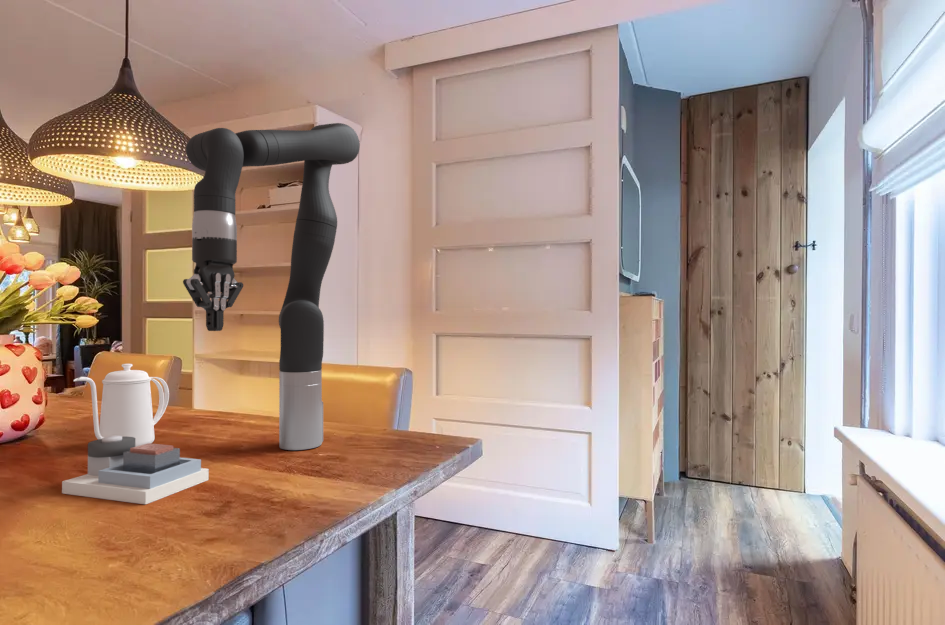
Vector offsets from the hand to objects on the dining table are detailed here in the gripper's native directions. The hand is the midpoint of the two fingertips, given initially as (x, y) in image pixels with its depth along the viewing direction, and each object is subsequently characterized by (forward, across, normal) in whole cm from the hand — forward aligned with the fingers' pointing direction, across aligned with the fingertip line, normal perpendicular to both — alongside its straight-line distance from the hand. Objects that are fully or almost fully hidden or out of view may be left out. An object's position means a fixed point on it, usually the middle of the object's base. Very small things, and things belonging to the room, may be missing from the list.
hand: (214, 330), depth 99 cm
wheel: (+25, +9, -14) cm, 30 cm away
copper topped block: (+25, +9, -5) cm, 27 cm away
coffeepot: (+27, -12, -36) cm, 47 cm away
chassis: (+27, +9, -8) cm, 30 cm away
